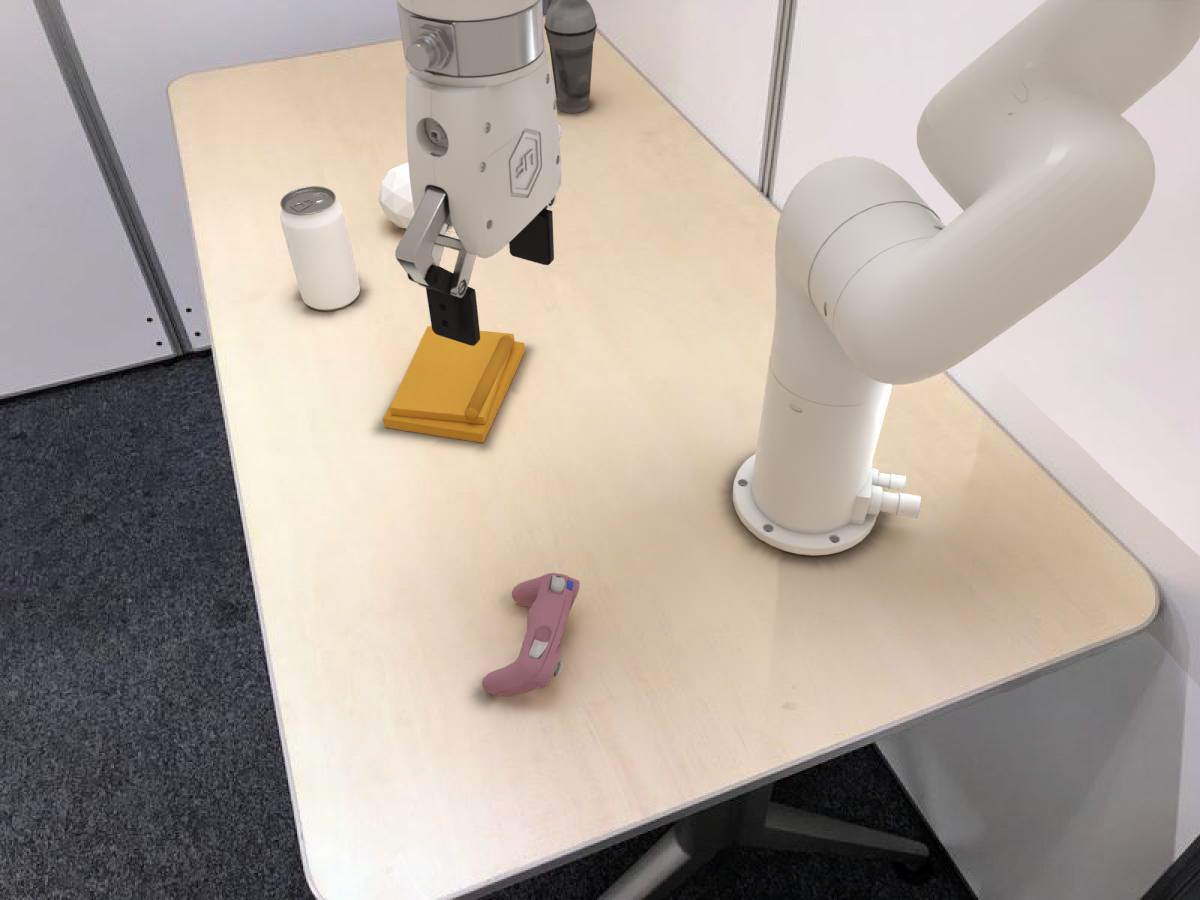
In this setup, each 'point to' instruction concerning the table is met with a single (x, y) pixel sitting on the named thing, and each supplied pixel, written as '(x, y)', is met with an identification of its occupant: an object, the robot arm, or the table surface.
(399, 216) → the ball
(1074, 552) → the table surface
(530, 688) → the video game controller
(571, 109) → the beverage cup
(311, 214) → the can
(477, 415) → the rag
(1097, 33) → the robot arm
